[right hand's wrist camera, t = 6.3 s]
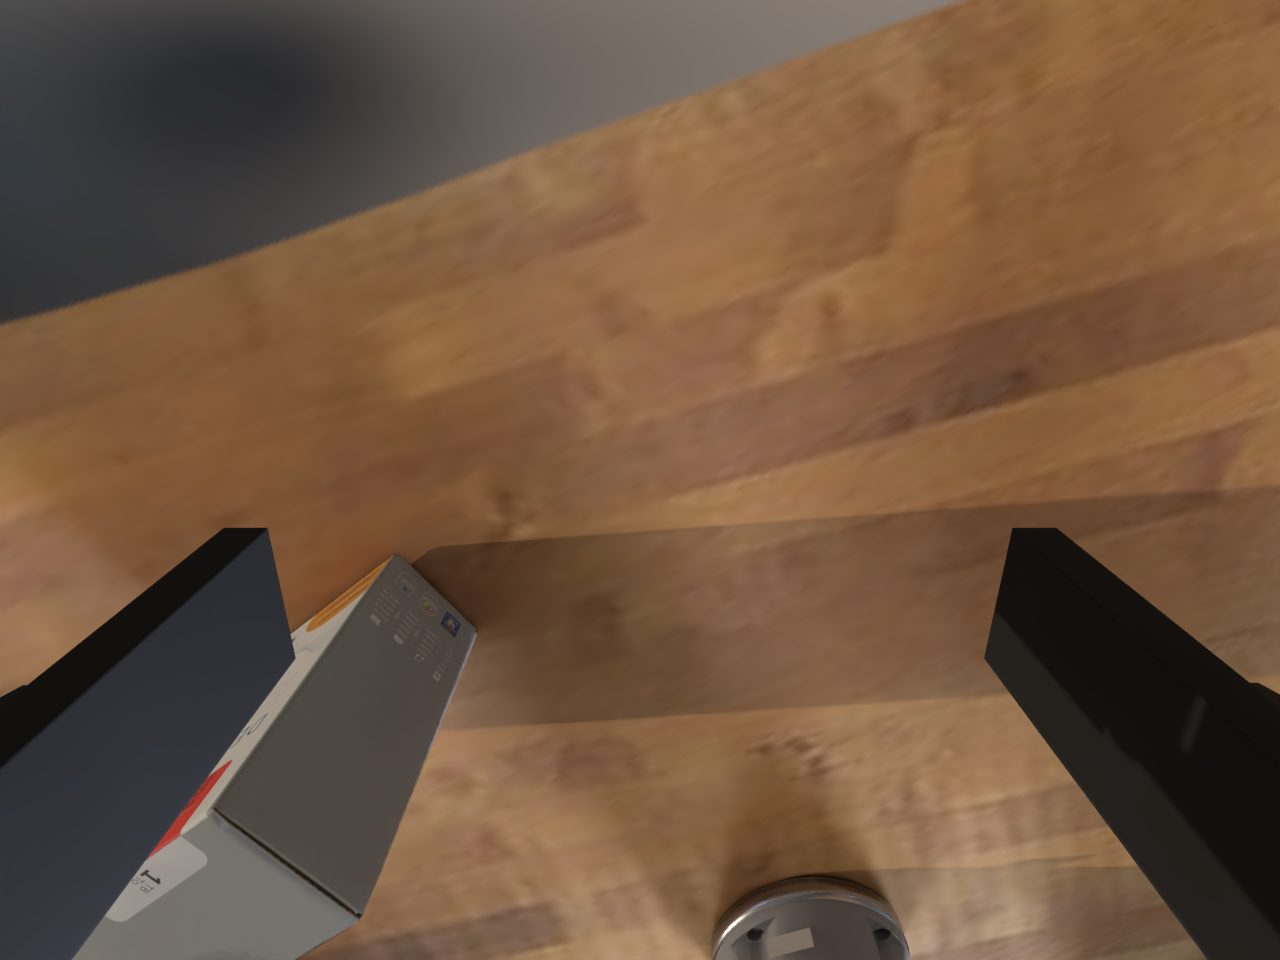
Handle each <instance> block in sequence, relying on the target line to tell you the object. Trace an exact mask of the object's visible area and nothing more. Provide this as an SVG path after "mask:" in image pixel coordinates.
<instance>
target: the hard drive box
mask: <svg viewBox="0 0 1280 960" xmlns="http://www.w3.org/2000/svg"><path fill="white" fill-rule="evenodd" d="M476 636H477V633H476V629H475V627H474V626H473V625H471V624H470V623H469V622H468V621H467V620H466V618H465V617H463V616H462V615H461V614H460V613H459V612H458V611H457V610H456V609H455V608H454V607H453V606H452V605H451V604H450V603H449V602H448V601H447V600H446V599H445V598H444V597H443V596H442V595H440V594H439V593H438V592H437V591H436V590H435V589H434V588H433V587H432V586H431V585H430V584H429V583H428V582H427V581H426V580H425V579H424V578H423V577H422V576H421V575H420V574H419V573H418V572H417V571H416V570H415V569H414V568H413V567H412V566H410V565H409V564H408V563H407V562H406V561H405V560H404V559H403V558H402V557H401V556H400V555H398V554H395V555H393V556H392V557H390V558H389V559H387V560H386V561H385V562H383V563H382V564H381V565H380V566H378V567H377V568H376V569H374V570H373V571H372V572H371V573H369V574H368V575H367V576H365V577H364V578H362V579H361V580H360V581H359V582H357V583H356V584H355V585H353V586H352V587H351V588H350V589H348V590H347V591H346V592H345V593H343V594H342V595H341V596H339V597H338V598H337V599H336V600H334V601H333V602H332V603H330V604H329V605H328V606H326V607H325V608H324V609H323V610H321V611H320V612H319V613H318V614H316V615H315V616H314V617H312V618H311V619H310V620H308V621H307V622H306V623H304V624H303V625H302V626H301V627H300V628H298V629H297V630H296V631H294V632H293V633H292V634H291V639H292V643H293V648H294V652H295V657H296V659H295V660H294V661H293V663H292V664H291V666H290V667H289V668H288V670H287V671H286V672H285V674H284V675H283V676H282V678H281V679H280V680H279V682H278V683H277V684H276V686H275V687H274V688H273V690H272V691H271V692H270V694H269V695H268V696H267V698H266V699H265V701H264V702H263V703H262V705H261V706H260V707H259V709H258V710H257V711H256V713H255V714H254V715H253V717H252V718H251V719H250V721H249V722H248V723H247V725H246V726H245V727H244V729H243V730H242V732H241V733H240V734H239V736H238V737H237V738H236V740H235V741H234V742H233V744H232V745H231V746H230V748H229V749H228V750H227V752H226V753H225V754H224V756H223V757H222V758H221V760H220V761H219V762H218V764H217V765H216V767H215V768H214V769H213V771H212V772H211V773H210V775H209V776H208V777H207V779H206V780H205V781H204V783H203V784H202V785H201V787H200V788H199V789H198V791H197V792H196V793H195V795H194V796H193V798H192V799H191V800H190V802H189V803H188V804H187V806H186V807H185V808H184V810H183V811H182V812H181V814H180V815H179V816H178V818H177V819H176V820H175V822H174V823H173V824H172V826H171V827H170V828H169V830H168V831H167V833H166V834H165V835H164V837H163V838H162V839H161V841H160V842H159V843H158V845H157V846H156V847H155V849H154V850H153V851H152V853H151V854H150V855H149V857H148V858H147V859H146V861H145V862H144V864H143V865H142V866H141V868H140V869H139V870H138V872H137V873H136V874H135V876H134V877H133V878H132V880H131V881H130V882H129V884H128V885H127V886H126V888H125V889H124V890H123V892H122V893H121V894H120V896H119V897H118V899H117V900H116V901H115V903H114V904H113V905H112V907H111V908H110V909H109V911H108V912H107V913H106V915H105V916H104V917H103V919H102V920H101V921H100V923H99V924H98V925H97V927H96V928H95V930H94V931H93V932H92V934H91V935H90V936H89V938H88V939H87V940H86V942H85V943H84V944H83V946H82V947H81V948H80V950H79V951H78V952H77V954H76V955H75V956H74V958H73V959H72V960H297V959H299V958H300V957H302V956H304V955H305V954H307V953H309V952H310V951H312V950H314V949H315V948H317V947H319V946H320V945H322V944H323V943H325V942H327V941H328V940H330V939H331V938H333V937H335V936H336V935H338V934H339V933H341V932H342V931H344V930H346V929H347V928H349V927H350V926H352V925H353V924H355V923H356V922H358V921H359V920H360V919H361V917H362V915H363V913H364V911H365V909H366V906H367V904H368V901H369V899H370V896H371V894H372V892H373V889H374V887H375V885H376V882H377V880H378V877H379V875H380V873H381V871H382V868H383V865H384V862H385V860H386V858H387V855H388V853H389V850H390V848H391V845H392V843H393V840H394V838H395V835H396V833H397V830H398V828H399V825H400V823H401V820H402V818H403V815H404V813H405V810H406V808H407V805H408V803H409V800H410V798H411V796H412V793H413V791H414V788H415V786H416V783H417V781H418V778H419V776H420V773H421V771H422V769H423V766H424V764H425V761H426V759H427V757H428V754H429V752H430V749H431V747H432V744H433V742H434V739H435V737H436V735H437V732H438V730H439V727H440V725H441V722H442V720H443V717H444V715H445V712H446V710H447V708H448V705H449V703H450V700H451V698H452V695H453V693H454V690H455V688H456V686H457V683H458V681H459V678H460V676H461V673H462V671H463V669H464V666H465V664H466V661H467V659H468V656H469V654H470V651H471V649H472V646H473V644H474V641H475V639H476Z"/></svg>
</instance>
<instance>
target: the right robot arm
mask: <svg viewBox="0 0 1280 960" xmlns="http://www.w3.org/2000/svg"><path fill="white" fill-rule="evenodd" d="M295 659H296V657H295V652H294V648H293V643H292V639H291V634H290V629H289V625H288V620H287V616H286V611H285V606H284V602H283V597H282V593H281V588H280V583H279V579H278V574H277V570H276V565H275V561H274V556H273V551H272V547H271V542H270V538H269V533H268V528H223V529H222V530H221V531H219V532H218V533H217V534H216V535H214V536H213V537H212V538H211V539H209V540H208V541H207V542H206V543H204V544H203V545H202V546H201V547H199V548H198V549H197V550H196V551H194V552H193V553H192V554H191V555H189V556H188V557H187V558H186V559H184V560H183V561H182V562H181V563H179V564H178V565H177V566H176V567H174V568H173V569H172V570H171V571H169V572H168V573H167V574H166V575H164V576H163V577H162V578H161V579H159V580H158V581H157V582H156V583H154V584H153V585H152V586H151V587H149V588H148V589H147V590H146V591H144V592H143V593H142V594H141V595H139V596H138V597H137V598H136V599H134V600H133V601H132V602H131V603H129V604H128V605H127V606H126V607H124V608H123V609H122V610H121V611H119V612H118V613H117V614H116V615H114V616H113V617H112V618H111V619H109V620H108V621H107V622H106V623H104V624H103V625H102V626H101V627H99V628H98V629H97V630H96V631H94V632H93V633H92V634H91V635H89V636H88V637H87V638H86V639H84V640H83V641H82V642H81V643H79V644H78V645H77V646H76V647H75V648H73V649H72V650H71V651H70V652H68V653H67V654H66V655H65V656H63V657H62V658H61V659H60V660H58V661H57V662H56V663H55V664H53V665H52V666H51V667H50V668H48V669H47V670H46V671H45V672H43V673H42V674H41V675H40V676H38V677H37V678H36V679H35V680H33V681H32V682H31V683H30V684H28V685H23V686H21V687H19V688H17V689H15V690H13V691H12V692H10V693H8V694H6V695H4V696H2V697H0V960H72V959H73V958H74V956H75V955H76V954H77V952H78V951H79V950H80V948H81V947H82V946H83V944H84V943H85V942H86V940H87V939H88V938H89V936H90V935H91V934H92V932H93V931H94V930H95V928H96V927H97V925H98V924H99V923H100V921H101V920H102V919H103V917H104V916H105V915H106V913H107V912H108V911H109V909H110V908H111V907H112V905H113V904H114V903H115V901H116V900H117V899H118V897H119V896H120V894H121V893H122V892H123V890H124V889H125V888H126V886H127V885H128V884H129V882H130V881H131V880H132V878H133V877H134V876H135V874H136V873H137V872H138V870H139V869H140V868H141V866H142V865H143V864H144V862H145V861H146V859H147V858H148V857H149V855H150V854H151V853H152V851H153V850H154V849H155V847H156V846H157V845H158V843H159V842H160V841H161V839H162V838H163V837H164V835H165V834H166V833H167V831H168V830H169V828H170V827H171V826H172V824H173V823H174V822H175V820H176V819H177V818H178V816H179V815H180V814H181V812H182V811H183V810H184V808H185V807H186V806H187V804H188V803H189V802H190V800H191V799H192V798H193V796H194V795H195V793H196V792H197V791H198V789H199V788H200V787H201V785H202V784H203V783H204V781H205V780H206V779H207V777H208V776H209V775H210V773H211V772H212V771H213V769H214V768H215V767H216V765H217V764H218V762H219V761H220V760H221V758H222V757H223V756H224V754H225V753H226V752H227V750H228V749H229V748H230V746H231V745H232V744H233V742H234V741H235V740H236V738H237V737H238V736H239V734H240V733H241V732H242V730H243V729H244V727H245V726H246V725H247V723H248V722H249V721H250V719H251V718H252V717H253V715H254V714H255V713H256V711H257V710H258V709H259V707H260V706H261V705H262V703H263V702H264V701H265V699H266V698H267V696H268V695H269V694H270V692H271V691H272V690H273V688H274V687H275V686H276V684H277V683H278V682H279V680H280V679H281V678H282V676H283V675H284V674H285V672H286V671H287V670H288V668H289V667H290V666H291V664H292V663H293V661H294V660H295ZM984 659H985V660H986V661H987V663H988V664H989V666H990V667H991V668H992V670H993V671H994V672H995V674H996V675H997V676H998V678H999V679H1000V680H1001V682H1002V683H1003V684H1004V686H1005V687H1006V688H1007V690H1008V691H1009V692H1010V694H1011V695H1012V696H1013V698H1014V699H1015V701H1016V702H1017V703H1018V705H1019V706H1020V707H1021V709H1022V710H1023V711H1024V713H1025V714H1026V715H1027V717H1028V718H1029V719H1030V721H1031V722H1032V723H1033V725H1034V726H1035V727H1036V729H1037V730H1038V732H1039V733H1040V734H1041V736H1042V737H1043V738H1044V740H1045V741H1046V742H1047V744H1048V745H1049V746H1050V748H1051V749H1052V750H1053V752H1054V753H1055V754H1056V756H1057V757H1058V758H1059V760H1060V761H1061V762H1062V764H1063V765H1064V767H1065V768H1066V769H1067V771H1068V772H1069V773H1070V775H1071V776H1072V777H1073V779H1074V780H1075V781H1076V783H1077V784H1078V785H1079V787H1080V788H1081V789H1082V791H1083V792H1084V793H1085V795H1086V796H1087V798H1088V799H1089V800H1090V802H1091V803H1092V804H1093V806H1094V807H1095V808H1096V810H1097V811H1098V812H1099V814H1100V815H1101V816H1102V818H1103V819H1104V820H1105V822H1106V823H1107V824H1108V826H1109V827H1110V828H1111V830H1112V831H1113V833H1114V834H1115V835H1116V837H1117V838H1118V839H1119V841H1120V842H1121V843H1122V845H1123V846H1124V847H1125V849H1126V850H1127V851H1128V853H1129V854H1130V855H1131V857H1132V858H1133V859H1134V861H1135V862H1136V864H1137V865H1138V866H1139V868H1140V869H1141V870H1142V872H1143V873H1144V874H1145V876H1146V877H1147V878H1148V880H1149V881H1150V882H1151V884H1152V885H1153V886H1154V888H1155V889H1156V890H1157V892H1158V893H1159V894H1160V896H1161V897H1162V899H1163V900H1164V901H1165V903H1166V904H1167V905H1168V907H1169V908H1170V909H1171V911H1172V912H1173V913H1174V915H1175V916H1176V917H1177V919H1178V920H1179V921H1180V923H1181V924H1182V925H1183V927H1184V928H1185V930H1186V931H1187V932H1188V934H1189V935H1190V936H1191V938H1192V939H1193V940H1194V942H1195V943H1196V944H1197V946H1198V947H1199V948H1200V950H1201V951H1202V952H1203V954H1204V955H1205V956H1206V958H1207V959H1208V960H1280V694H1278V693H1276V692H1274V691H1272V690H1270V689H1269V688H1267V687H1265V686H1263V685H1261V684H1259V683H1249V682H1248V681H1247V680H1245V679H1244V678H1243V677H1242V676H1240V675H1239V674H1238V673H1237V672H1235V671H1234V670H1233V669H1232V668H1230V667H1229V666H1228V665H1227V664H1225V663H1224V662H1223V661H1222V660H1220V659H1219V658H1218V657H1217V656H1215V655H1214V654H1213V653H1212V652H1210V651H1209V650H1208V649H1207V648H1205V647H1204V646H1203V645H1202V644H1201V643H1199V642H1198V641H1197V640H1196V639H1194V638H1193V637H1192V636H1191V635H1189V634H1188V633H1187V632H1186V631H1184V630H1183V629H1182V628H1181V627H1179V626H1178V625H1177V624H1176V623H1174V622H1173V621H1172V620H1171V619H1169V618H1168V617H1167V616H1166V615H1164V614H1163V613H1162V612H1161V611H1159V610H1158V609H1157V608H1156V607H1154V606H1153V605H1152V604H1151V603H1149V602H1148V601H1147V600H1146V599H1144V598H1143V597H1142V596H1141V595H1139V594H1138V593H1137V592H1136V591H1134V590H1133V589H1132V588H1131V587H1129V586H1128V585H1127V584H1126V583H1124V582H1123V581H1122V580H1121V579H1119V578H1118V577H1117V576H1116V575H1114V574H1113V573H1112V572H1111V571H1109V570H1108V569H1107V568H1106V567H1104V566H1103V565H1102V564H1101V563H1099V562H1098V561H1097V560H1096V559H1094V558H1093V557H1092V556H1091V555H1089V554H1088V553H1087V552H1086V551H1084V550H1083V549H1082V548H1081V547H1079V546H1078V545H1077V544H1076V543H1074V542H1073V541H1072V540H1071V539H1069V538H1068V537H1067V536H1066V535H1064V534H1063V533H1062V532H1061V531H1059V530H1058V529H1057V528H1012V533H1011V538H1010V542H1009V547H1008V551H1007V556H1006V560H1005V565H1004V570H1003V574H1002V579H1001V583H1000V588H999V593H998V597H997V602H996V606H995V611H994V616H993V620H992V625H991V629H990V634H989V639H988V643H987V648H986V652H985V657H984ZM711 954H712V960H910V954H909V948H908V945H907V942H906V939H905V936H904V933H903V930H902V928H901V925H900V922H899V919H898V917H897V915H896V913H895V912H894V910H893V909H892V907H891V906H890V905H889V904H888V903H887V902H886V901H885V900H884V899H883V898H882V897H880V896H879V895H878V894H876V893H875V892H873V891H871V890H870V889H868V888H866V887H863V886H861V885H859V884H856V883H853V882H850V881H846V880H842V879H836V878H829V877H801V878H793V879H787V880H783V881H779V882H775V883H772V884H769V885H766V886H764V887H761V888H759V889H757V890H755V891H753V892H751V893H749V894H747V895H746V896H744V897H742V898H741V899H740V900H738V901H737V902H736V903H735V904H733V905H732V906H731V907H730V908H729V909H728V910H727V911H726V912H725V913H724V915H723V916H722V917H721V919H720V920H719V922H718V924H717V925H716V928H715V930H714V933H713V936H712V942H711Z"/></svg>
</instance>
